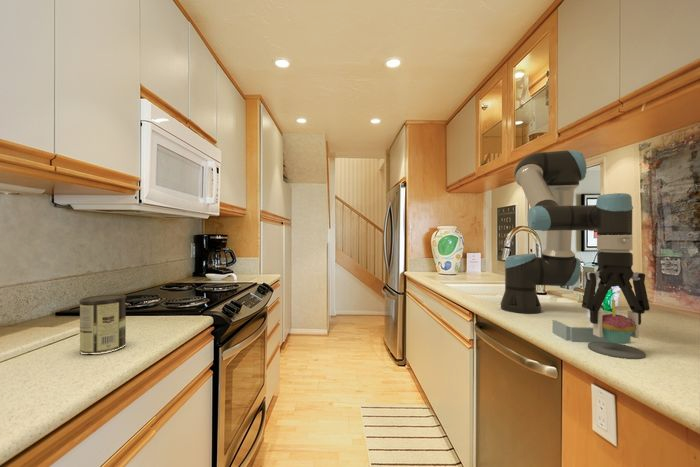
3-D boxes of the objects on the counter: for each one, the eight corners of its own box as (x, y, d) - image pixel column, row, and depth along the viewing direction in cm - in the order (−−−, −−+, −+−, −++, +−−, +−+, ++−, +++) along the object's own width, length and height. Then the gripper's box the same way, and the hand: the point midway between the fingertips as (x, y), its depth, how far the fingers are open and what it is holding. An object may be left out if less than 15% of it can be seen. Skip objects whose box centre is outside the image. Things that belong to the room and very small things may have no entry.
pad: (578, 343, 96) (578, 341, 96) (623, 344, 95) (623, 342, 95) (606, 358, 84) (606, 355, 84) (658, 359, 83) (658, 357, 83)
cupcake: (632, 348, 84) (631, 300, 84) (591, 340, 90) (591, 295, 90) (639, 341, 89) (639, 296, 89) (601, 334, 96) (600, 292, 96)
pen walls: (552, 332, 107) (552, 320, 107) (609, 334, 105) (609, 321, 105) (568, 341, 98) (568, 327, 98) (630, 343, 96) (630, 329, 96)
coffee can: (106, 341, 97) (107, 293, 98) (134, 344, 95) (135, 295, 95) (68, 353, 88) (69, 299, 88) (98, 357, 85) (99, 301, 85)
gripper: (581, 251, 87) (582, 339, 87) (668, 252, 85) (669, 341, 85) (565, 250, 95) (566, 331, 94) (645, 251, 93) (646, 333, 92)
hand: (615, 336), depth 90 cm, fingers closed on cupcake, 8 cm apart
